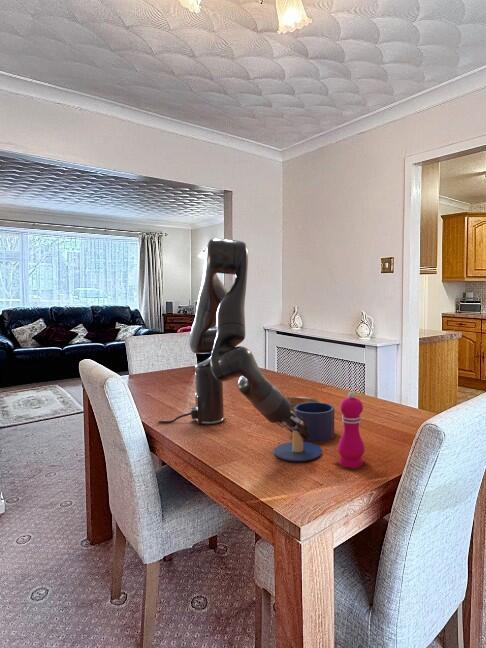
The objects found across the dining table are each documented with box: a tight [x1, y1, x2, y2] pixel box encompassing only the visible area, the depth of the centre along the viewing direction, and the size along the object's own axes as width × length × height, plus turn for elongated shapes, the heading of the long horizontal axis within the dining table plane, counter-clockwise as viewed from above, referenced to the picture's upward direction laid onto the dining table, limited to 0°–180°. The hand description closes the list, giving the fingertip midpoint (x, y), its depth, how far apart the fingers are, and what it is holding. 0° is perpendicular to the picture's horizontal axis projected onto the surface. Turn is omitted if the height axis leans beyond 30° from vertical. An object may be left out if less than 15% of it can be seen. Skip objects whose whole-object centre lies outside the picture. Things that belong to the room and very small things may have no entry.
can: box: [294, 401, 335, 443], centre depth 144 cm, size 13×13×9 cm
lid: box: [273, 427, 323, 463], centre depth 128 cm, size 14×14×10 cm
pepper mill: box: [337, 391, 366, 469], centre depth 121 cm, size 7×7×20 cm
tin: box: [286, 395, 320, 413], centre depth 160 cm, size 15×3×8 cm, turn 68°
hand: (302, 435), depth 130 cm, fingers closed on lid, 3 cm apart
